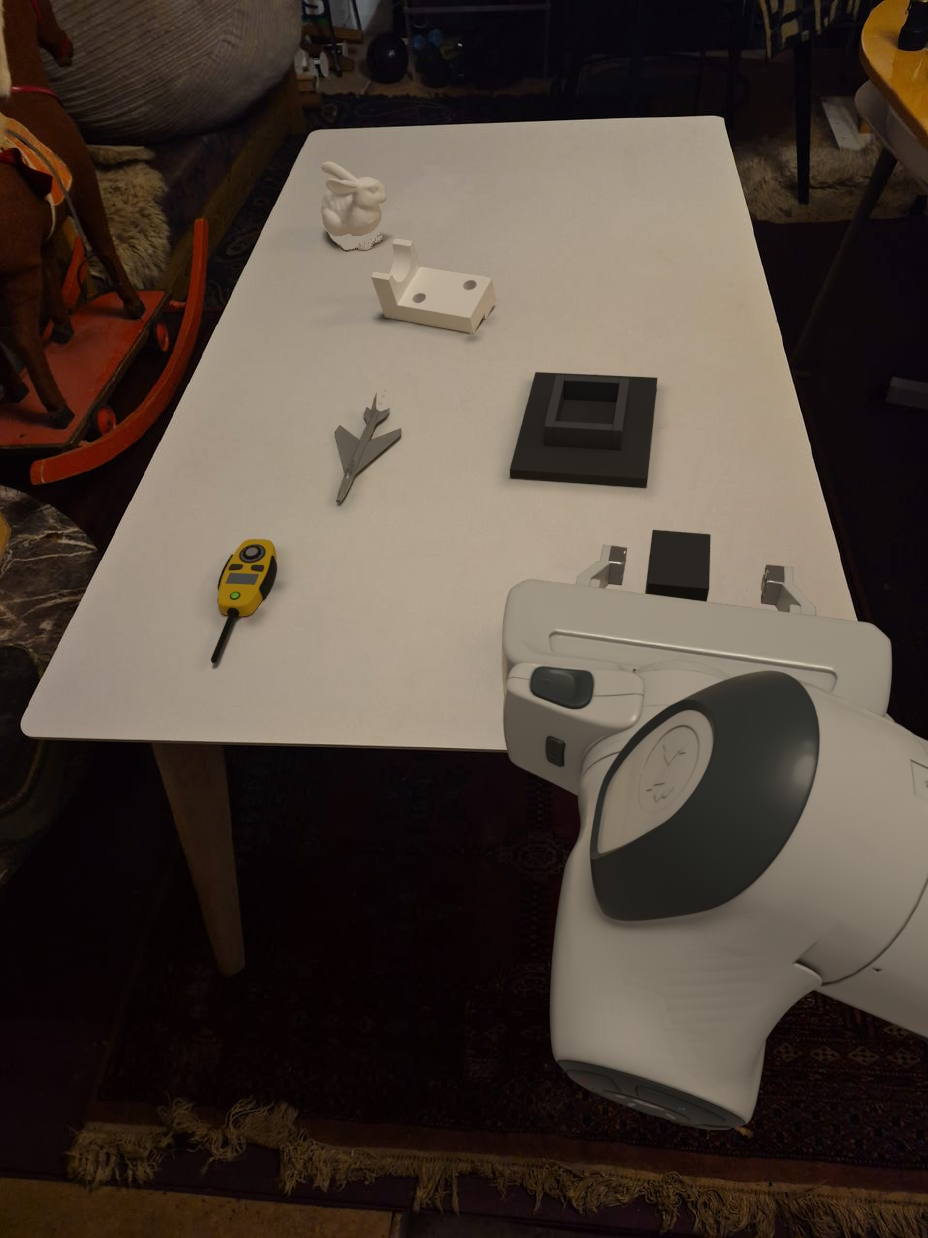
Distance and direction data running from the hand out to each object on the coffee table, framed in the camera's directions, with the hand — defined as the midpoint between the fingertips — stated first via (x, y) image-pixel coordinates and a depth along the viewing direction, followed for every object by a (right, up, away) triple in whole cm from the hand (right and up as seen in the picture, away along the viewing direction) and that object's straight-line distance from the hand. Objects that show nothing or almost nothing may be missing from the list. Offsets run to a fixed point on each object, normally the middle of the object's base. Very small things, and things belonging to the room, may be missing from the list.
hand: (694, 563), depth 51 cm
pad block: (+4, -5, +22) cm, 23 cm away
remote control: (-35, -2, +29) cm, 45 cm away
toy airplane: (-25, +16, +44) cm, 53 cm away
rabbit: (-30, +53, +78) cm, 98 cm away
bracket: (-17, +37, +62) cm, 74 cm away
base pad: (0, +17, +43) cm, 46 cm away
